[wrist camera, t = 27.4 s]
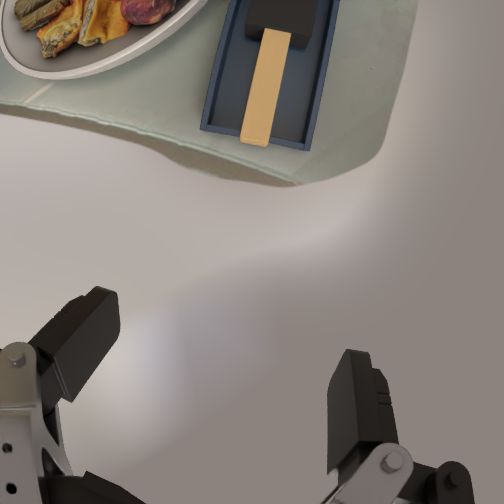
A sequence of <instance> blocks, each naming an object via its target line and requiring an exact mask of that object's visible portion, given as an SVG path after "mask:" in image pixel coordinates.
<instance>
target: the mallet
mask: <svg viewBox="0 0 504 504" xmlns="http://www.w3.org/2000/svg"><path fill="white" fill-rule="evenodd" d="M317 4H318V0H252V1H251V4H250V7H249V11H248V14H247V18H246V22H245V36H246V37H251V38H257V39H262V42H261V46H260V50H259V54H258V58H257V63H256V67H255V71H254V75H253V80H252V84H251V88H250V93H249V97H248V102H247V106H246V111H245V115H244V120H243V124H242V129H241V134H240V142H242V143H247V144H252V145H258V146H262V147H267V145H268V142H269V138H270V133H271V128H272V123H273V118H274V114H275V109H276V104H277V99H278V94H279V90H280V85H281V80H282V75H283V71H284V66H285V61H286V56H287V52H288V47H289V45H293V46H297V47H301V48H305V49H306V48H307V45H308V43H309V41H310V39H311V37H312V32H313V27H314V21H315V16H316V10H317Z"/></svg>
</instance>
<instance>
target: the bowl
mask: <svg viewBox="0 0 504 504" xmlns="http://www.w3.org/2000/svg"><path fill="white" fill-rule="evenodd" d="M207 2H208V0H2V2H1V6H0V46H1V49H2V51H3V53H4V55H5V57H6V59H7V60H8V61H9V62H10V64H11V65H12V66H14V67H15V68H16V69H17V70H19V71H21V72H22V73H24V74H27V75H29V76H33V77H37V78H42V79H51V80H65V79H75V78H80V77H85V76H90V75H93V74H97V73H100V72H103V71H106V70H109V69H111V68H114V67H116V66H119V65H121V64H123V63H126V62H128V61H130V60H132V59H134V58H136V57H137V56H139V55H141V54H143V53H145V52H146V51H148V50H150V49H151V48H153V47H154V46H156V45H158V44H159V43H161V42H162V41H164V40H165V39H166V38H168V37H169V36H171V35H172V34H173V33H174V32H176V31H177V30H178V29H179V28H181V27H182V26H183V25H184V24H185V23H187V22H188V21H189V20H190V19H191V18H192V17H193V16H194V15H195V14H196V13H197V12H198V11H199V10H200V9H201V8H202V7H203V6H204V5H205V4H206V3H207Z"/></svg>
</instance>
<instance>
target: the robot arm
mask: <svg viewBox="0 0 504 504" xmlns="http://www.w3.org/2000/svg"><path fill="white" fill-rule="evenodd" d="M119 332H120V316H119V306H118V296H117V293H116V292H114V291H112V290H108V289H106V288H102V287H99V286H96V287H94V288H93V289H92V290H91V291H90V292H89V293H88V294H87V295H86V296H83V295H81V296H79V297H77V298H75V299H73V300H71V301H69V302H68V303H67V304H66V305H65V306H64V307H63V308H62V309H61V311H59V312H58V313H57V314H56V315H55V316H54V318H52V319H51V320H50V321H49V322H48V323H47V324H46V325H45V326H44V327H43V328H42V329H41V330H40V331H39V332H38V333H37V334H36V335H35V336H34V337H33V338H32V339H31V340H30V341H29V342H28V343H25V342H15V343H11V344H9V345H7V346H6V347H5V348H4V349H0V504H146V503H144V502H143V501H141V500H140V499H138V498H137V497H135V496H134V495H132V494H131V493H129V492H128V491H126V490H125V489H123V488H122V487H120V486H118V485H116V484H114V483H112V482H109V481H107V480H105V479H103V478H101V477H98V476H96V475H94V474H92V473H90V472H88V471H86V472H85V474H84V476H83V477H79V476H73V473H72V470H71V466H70V464H69V461H68V459H67V457H66V454H65V450H64V444H63V438H62V431H61V424H60V416H59V408H58V404H57V403H58V401H59V400H60V399H61V398H63V399H65V400H67V401H69V402H71V403H72V402H73V401H74V399H75V398H76V396H77V395H78V393H79V392H80V391H81V389H82V388H83V386H84V385H85V383H86V382H87V380H88V379H89V378H90V376H91V375H92V374H93V372H94V371H95V369H96V368H97V366H98V365H99V364H100V362H101V361H102V359H103V358H104V357H105V355H106V354H107V353H108V351H109V350H110V349H111V347H112V346H113V344H114V343H115V342H116V340H117V338H118V336H119ZM389 394H390V392H389V388H388V383H387V380H386V378H385V377H384V376H383V374H382V373H381V371H380V369H375V368H372V364H371V359H370V355H369V353H368V352H363V351H357V350H351V349H346V351H345V352H344V354H343V356H342V358H341V360H340V362H339V364H338V366H337V368H336V370H335V372H334V374H333V376H332V378H331V380H330V383H329V387H328V393H327V405H328V455H327V475H328V476H338V485H337V486H336V487H335V488H334V489H333V490H332V491H331V492H330V493H329V494H328V495H327V496H326V497H325V498H324V499H323V500H322V501H321V502H320V503H319V504H475V502H474V495H473V489H472V482H471V477H470V474H469V472H468V470H467V469H466V468H465V466H463V465H462V464H461V463H458V462H454V461H448V462H445V463H444V464H442V465H441V466H440V467H439V468H432V467H429V466H425V465H422V464H419V463H416V462H414V461H413V460H412V457H411V455H410V454H409V452H408V451H407V450H406V449H405V448H404V447H402V446H400V445H399V442H398V436H397V430H396V424H395V418H394V413H393V408H392V406H391V403H392V402H391V397H390V396H389Z"/></svg>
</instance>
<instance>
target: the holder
mask: <svg viewBox="0 0 504 504" xmlns="http://www.w3.org/2000/svg"><path fill="white" fill-rule="evenodd" d="M251 1H252V0H231V1H230V5H229V8H228V12H227V15H226V19H225V23H224V26H223V30H222V34H221V38H220V42H219V45H218V49H217V53H216V57H215V62H214V66H213V70H212V74H211V78H210V83H209V87H208V92H207V96H206V101H205V105H204V110H203V115H202V120H201V125H200V130H203V131H208V132H214V133H220V134H226V135H232V136H237V137H240V134H241V129H242V124H243V120H244V115H245V111H246V106H247V102H248V97H249V93H250V88H251V84H252V80H253V75H254V71H255V67H256V63H257V58H258V54H259V50H260V46H261V42H262V39H257V38H251V37H246V36H245V22H246V18H247V14H248V11H249V7H250V4H251ZM339 2H340V0H318V4H317V10H316V16H315V21H314V27H313V32H312V37H311V39H310V41H309V43H308V45H307V48H306V49H305V48H301V47H297V46H293V45H289V47H288V52H287V56H286V61H285V66H284V71H283V75H282V80H281V85H280V90H279V94H278V99H277V104H276V109H275V114H274V118H273V123H272V128H271V133H270V138H269V142H268V143H272V144H277V145H282V146H286V147H290V148H295V149H299V150H303V151H310V147H311V142H312V138H313V133H314V129H315V124H316V120H317V115H318V110H319V105H320V101H321V96H322V91H323V86H324V81H325V76H326V71H327V66H328V61H329V56H330V51H331V46H332V41H333V35H334V30H335V24H336V19H337V13H338V8H339Z"/></svg>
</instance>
